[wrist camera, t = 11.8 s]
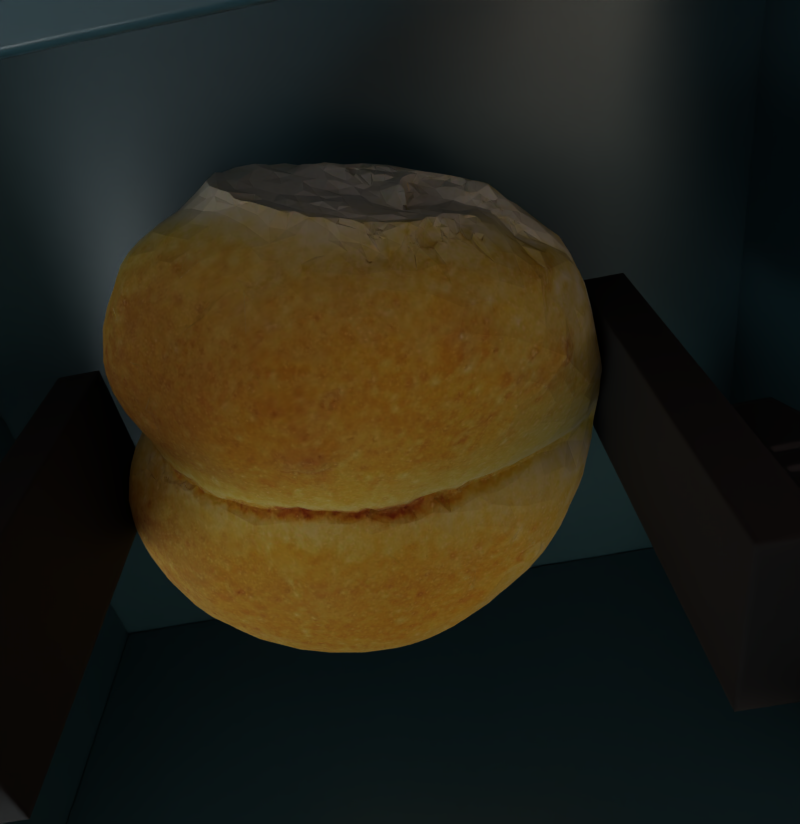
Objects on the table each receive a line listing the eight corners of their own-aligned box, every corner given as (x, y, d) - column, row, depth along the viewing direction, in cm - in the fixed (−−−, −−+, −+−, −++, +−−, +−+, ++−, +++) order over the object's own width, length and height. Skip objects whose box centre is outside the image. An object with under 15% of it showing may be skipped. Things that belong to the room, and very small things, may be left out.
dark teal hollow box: (-235, 35, 13) (-1009, 152, 6) (805, -192, 12) (1521, -409, 5) (120, 632, 22) (1, 978, 15) (731, 532, 21) (933, 850, 14)
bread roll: (164, 563, 16) (111, 729, 12) (103, 137, 11) (-11, 221, 8) (533, 571, 16) (578, 731, 13) (629, 172, 12) (738, 263, 8)
